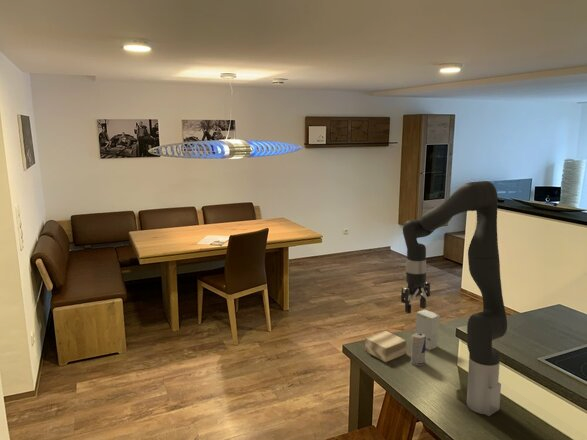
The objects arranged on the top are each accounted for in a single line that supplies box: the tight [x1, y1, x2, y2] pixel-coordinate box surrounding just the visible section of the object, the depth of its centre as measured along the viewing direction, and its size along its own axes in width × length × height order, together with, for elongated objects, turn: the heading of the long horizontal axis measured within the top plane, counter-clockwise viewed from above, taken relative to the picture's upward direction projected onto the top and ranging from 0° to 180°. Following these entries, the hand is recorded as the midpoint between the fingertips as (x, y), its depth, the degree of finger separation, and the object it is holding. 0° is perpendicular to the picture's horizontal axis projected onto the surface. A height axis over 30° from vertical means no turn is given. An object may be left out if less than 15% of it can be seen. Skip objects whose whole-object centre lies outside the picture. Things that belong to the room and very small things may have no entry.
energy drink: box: [410, 332, 426, 367], centre depth 176 cm, size 5×5×12 cm
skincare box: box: [414, 309, 441, 351], centre depth 190 cm, size 8×6×15 cm
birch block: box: [364, 330, 407, 363], centre depth 185 cm, size 12×12×6 cm
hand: (415, 310), depth 173 cm, fingers open, 8 cm apart
